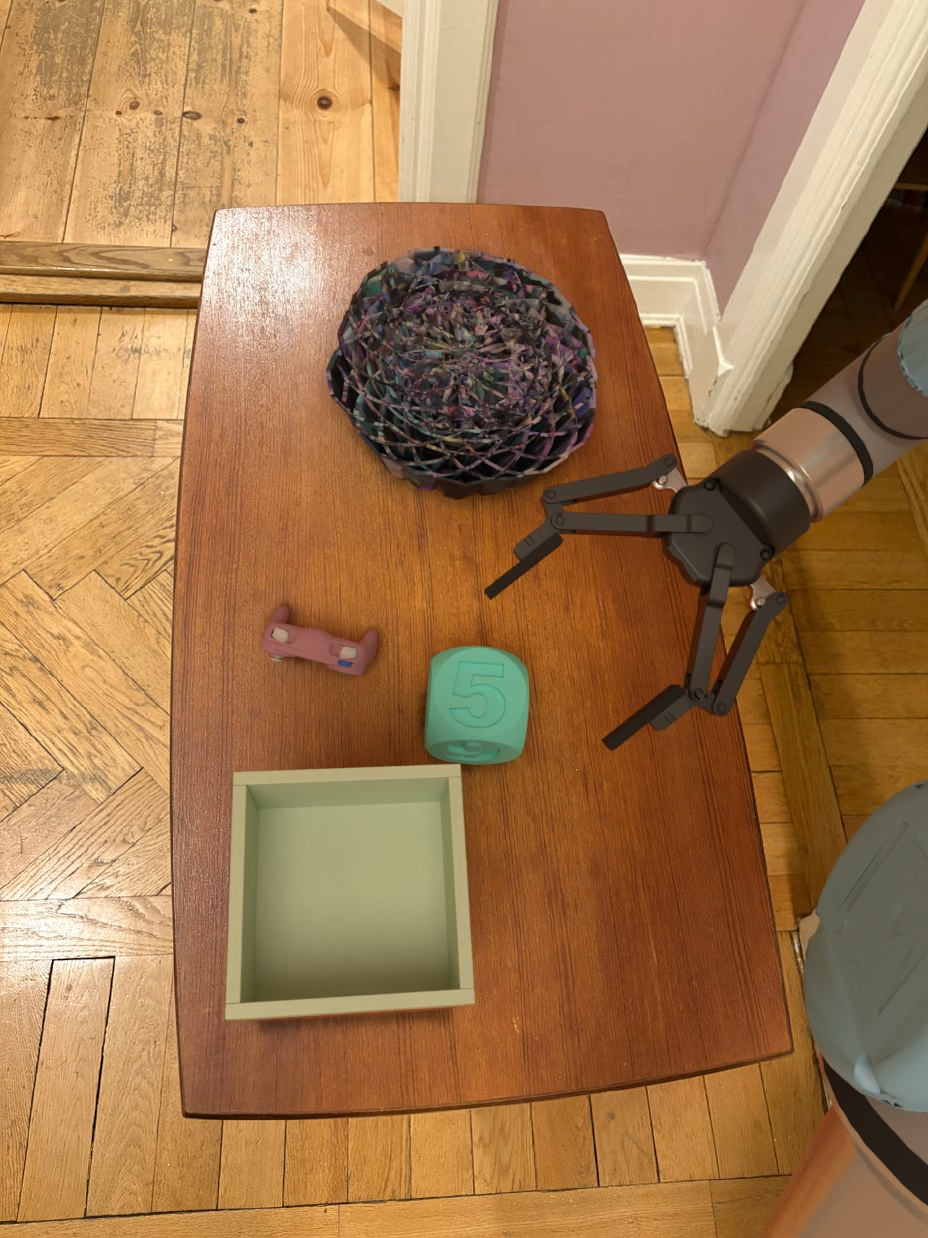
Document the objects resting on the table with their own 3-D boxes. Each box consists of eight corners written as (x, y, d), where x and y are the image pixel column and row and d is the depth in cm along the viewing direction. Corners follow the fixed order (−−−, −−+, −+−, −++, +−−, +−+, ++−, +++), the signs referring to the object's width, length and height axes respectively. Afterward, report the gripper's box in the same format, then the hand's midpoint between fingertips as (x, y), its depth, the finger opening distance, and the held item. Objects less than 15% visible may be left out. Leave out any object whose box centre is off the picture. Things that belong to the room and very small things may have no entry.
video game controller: (266, 651, 86) (247, 658, 79) (278, 602, 86) (260, 605, 79) (371, 679, 86) (361, 688, 79) (384, 630, 86) (375, 635, 79)
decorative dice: (516, 681, 86) (530, 648, 78) (514, 767, 82) (528, 742, 75) (427, 674, 85) (433, 641, 78) (422, 761, 82) (428, 735, 75)
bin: (462, 1006, 60) (475, 1003, 52) (242, 1020, 58) (224, 1020, 51) (450, 792, 65) (460, 763, 58) (248, 800, 63) (233, 771, 56)
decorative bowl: (324, 526, 92) (319, 480, 83) (334, 289, 101) (331, 222, 91) (584, 534, 94) (608, 490, 85) (572, 302, 103) (592, 238, 94)
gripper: (867, 626, 71) (647, 802, 70) (658, 369, 72) (440, 540, 72) (914, 620, 64) (668, 817, 63) (680, 334, 65) (437, 524, 64)
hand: (546, 670), depth 67 cm, fingers open, 13 cm apart
